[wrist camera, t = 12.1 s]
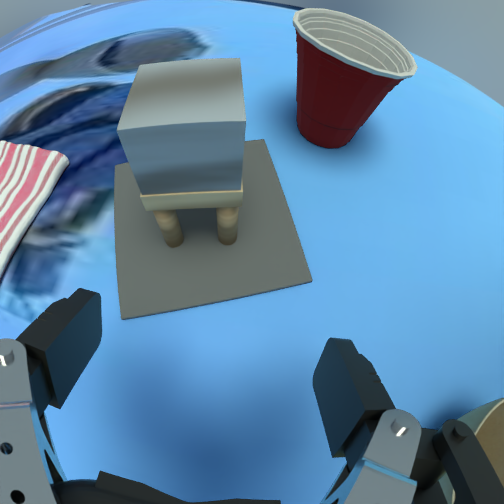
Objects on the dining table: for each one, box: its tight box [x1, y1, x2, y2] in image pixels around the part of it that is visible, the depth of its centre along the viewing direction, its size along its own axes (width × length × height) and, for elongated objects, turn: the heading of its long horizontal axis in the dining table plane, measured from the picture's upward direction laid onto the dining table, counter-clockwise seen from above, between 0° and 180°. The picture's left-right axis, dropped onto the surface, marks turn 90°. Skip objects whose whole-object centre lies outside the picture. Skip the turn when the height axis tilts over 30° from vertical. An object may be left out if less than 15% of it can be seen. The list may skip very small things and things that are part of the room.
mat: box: [114, 139, 312, 320], centre depth 23 cm, size 14×14×1 cm
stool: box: [117, 58, 246, 248], centre depth 18 cm, size 6×6×12 cm
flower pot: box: [439, 398, 504, 504], centre depth 13 cm, size 10×10×7 cm
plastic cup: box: [293, 8, 418, 148], centre depth 23 cm, size 11×11×12 cm
